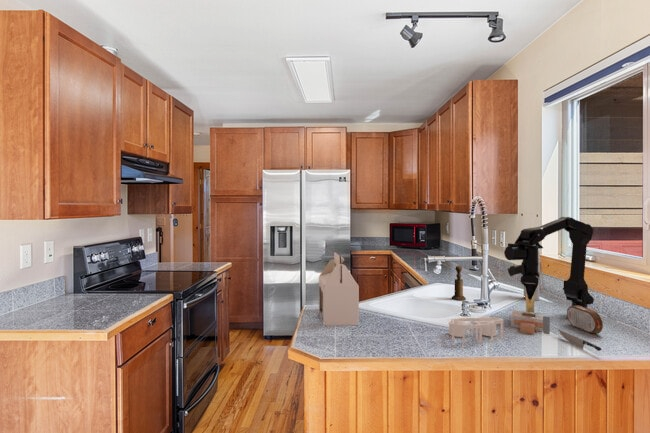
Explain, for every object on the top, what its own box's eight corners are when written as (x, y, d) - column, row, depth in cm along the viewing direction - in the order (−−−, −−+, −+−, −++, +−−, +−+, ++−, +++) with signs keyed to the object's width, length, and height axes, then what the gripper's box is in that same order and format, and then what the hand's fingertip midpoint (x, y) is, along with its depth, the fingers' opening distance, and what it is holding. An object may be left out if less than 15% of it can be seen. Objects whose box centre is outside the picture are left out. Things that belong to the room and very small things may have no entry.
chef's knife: (556, 336, 134) (556, 328, 134) (559, 336, 134) (559, 328, 134) (599, 357, 115) (599, 347, 115) (602, 357, 115) (602, 347, 115)
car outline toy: (495, 335, 136) (495, 315, 136) (512, 345, 125) (512, 324, 125) (441, 336, 135) (441, 316, 134) (454, 347, 124) (455, 325, 123)
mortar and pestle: (465, 301, 188) (465, 265, 188) (466, 304, 182) (466, 267, 182) (451, 300, 190) (451, 264, 190) (451, 302, 184) (451, 266, 184)
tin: (603, 336, 135) (603, 313, 135) (595, 336, 134) (595, 313, 134) (572, 323, 150) (573, 302, 150) (565, 324, 149) (565, 303, 149)
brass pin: (526, 317, 157) (526, 293, 157) (534, 318, 156) (534, 294, 156) (525, 319, 155) (525, 294, 155) (533, 320, 153) (534, 295, 153)
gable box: (359, 331, 140) (359, 257, 140) (323, 333, 139) (323, 257, 138) (349, 315, 162) (349, 250, 162) (318, 316, 161) (318, 251, 161)
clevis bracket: (513, 322, 152) (513, 310, 152) (542, 326, 147) (543, 313, 147) (509, 332, 139) (509, 319, 139) (542, 337, 133) (542, 323, 133)
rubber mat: (512, 313, 165) (512, 312, 165) (549, 318, 158) (549, 317, 158) (506, 329, 143) (506, 328, 143) (549, 335, 135) (549, 334, 135)
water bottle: (526, 301, 187) (526, 251, 187) (521, 297, 195) (521, 249, 195) (546, 302, 186) (546, 251, 186) (540, 298, 194) (540, 250, 193)
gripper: (510, 256, 167) (510, 290, 167) (506, 260, 151) (506, 299, 151) (539, 257, 161) (539, 293, 162) (538, 262, 145) (538, 302, 146)
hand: (530, 297), depth 155 cm, fingers open, 9 cm apart
